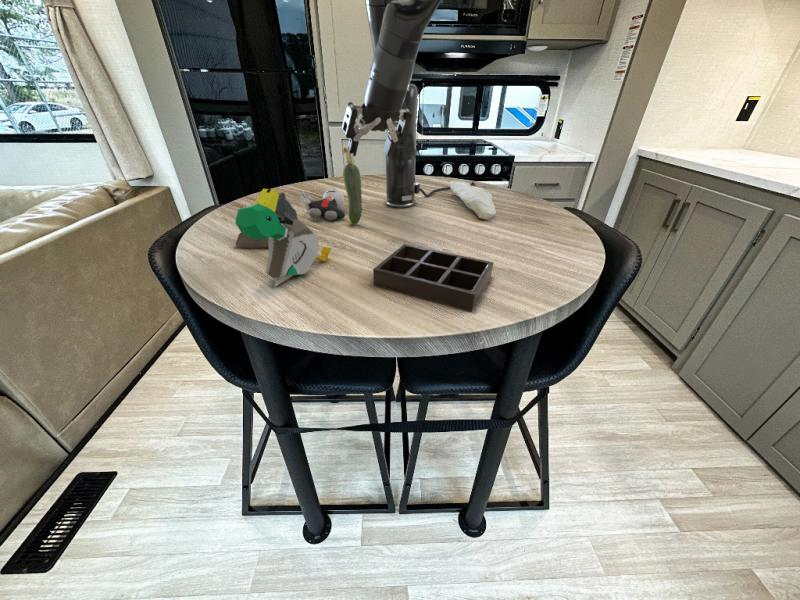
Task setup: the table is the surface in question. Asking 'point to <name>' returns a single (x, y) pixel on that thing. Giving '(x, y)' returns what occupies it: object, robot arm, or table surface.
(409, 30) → the robot arm
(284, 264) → the toy
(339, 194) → the toy
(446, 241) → the table surface
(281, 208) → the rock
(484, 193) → the rock
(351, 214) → the vegetable
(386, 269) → the brown compartment tray
